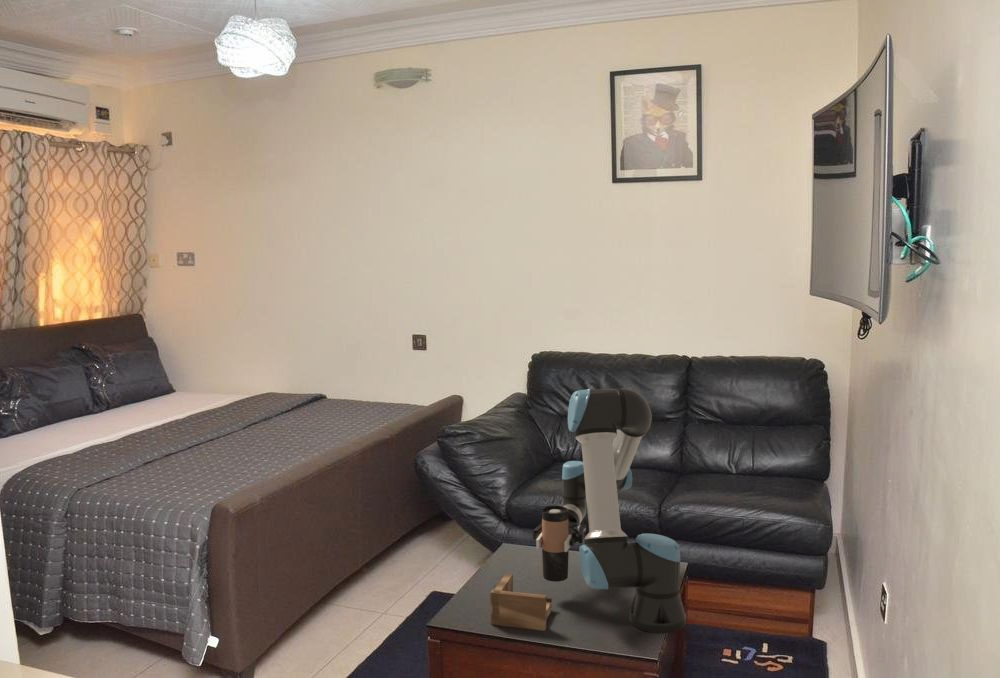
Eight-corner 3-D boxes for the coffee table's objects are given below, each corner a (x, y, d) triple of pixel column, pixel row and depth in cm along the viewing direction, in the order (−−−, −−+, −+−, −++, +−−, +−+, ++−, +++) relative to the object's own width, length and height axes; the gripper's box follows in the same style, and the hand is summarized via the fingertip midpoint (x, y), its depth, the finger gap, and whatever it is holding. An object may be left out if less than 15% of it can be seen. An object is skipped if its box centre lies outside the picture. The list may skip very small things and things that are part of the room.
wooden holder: (504, 603, 239) (504, 573, 238) (555, 608, 235) (555, 578, 234) (490, 624, 226) (490, 592, 225) (544, 630, 222) (544, 598, 221)
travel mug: (573, 575, 242) (573, 508, 240) (560, 584, 235) (560, 515, 233) (550, 569, 246) (549, 504, 244) (537, 578, 239) (536, 511, 237)
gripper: (600, 534, 254) (587, 562, 232) (535, 529, 260) (516, 555, 238) (600, 511, 253) (587, 535, 232) (535, 506, 259) (516, 529, 237)
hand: (551, 545), depth 235 cm, fingers closed on travel mug, 7 cm apart
